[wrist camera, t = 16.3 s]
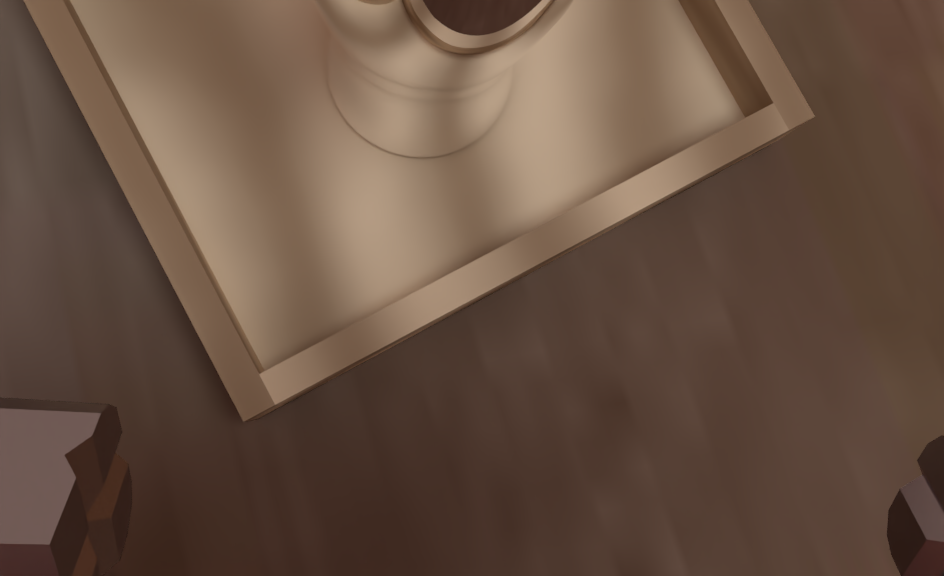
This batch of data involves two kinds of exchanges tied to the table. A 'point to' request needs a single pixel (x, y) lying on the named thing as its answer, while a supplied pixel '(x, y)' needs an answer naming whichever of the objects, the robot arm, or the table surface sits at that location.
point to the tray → (393, 164)
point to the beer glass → (428, 66)
